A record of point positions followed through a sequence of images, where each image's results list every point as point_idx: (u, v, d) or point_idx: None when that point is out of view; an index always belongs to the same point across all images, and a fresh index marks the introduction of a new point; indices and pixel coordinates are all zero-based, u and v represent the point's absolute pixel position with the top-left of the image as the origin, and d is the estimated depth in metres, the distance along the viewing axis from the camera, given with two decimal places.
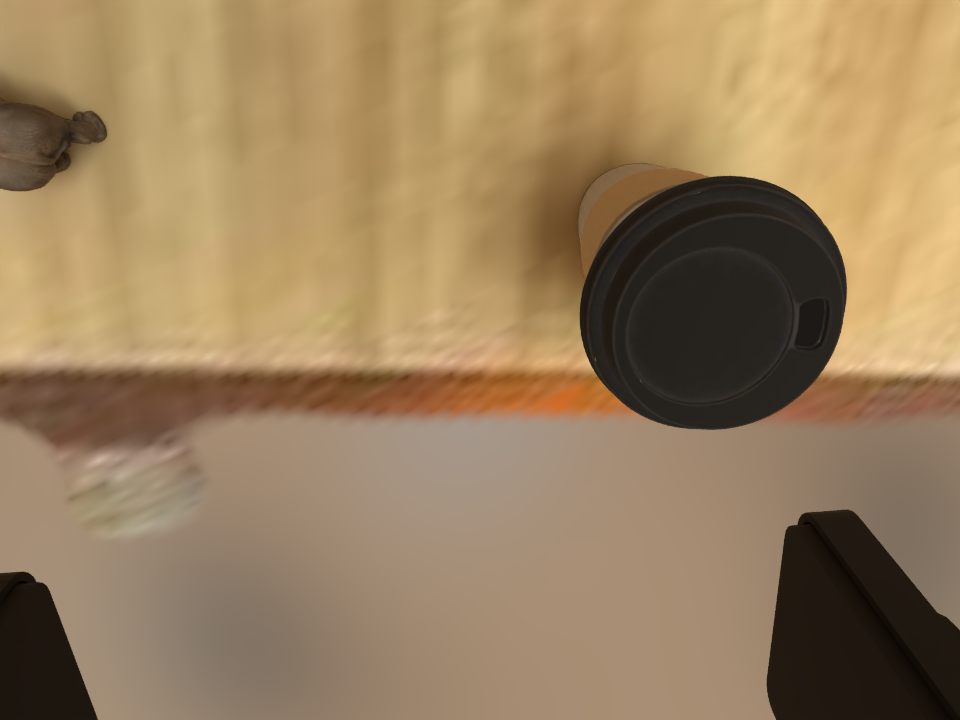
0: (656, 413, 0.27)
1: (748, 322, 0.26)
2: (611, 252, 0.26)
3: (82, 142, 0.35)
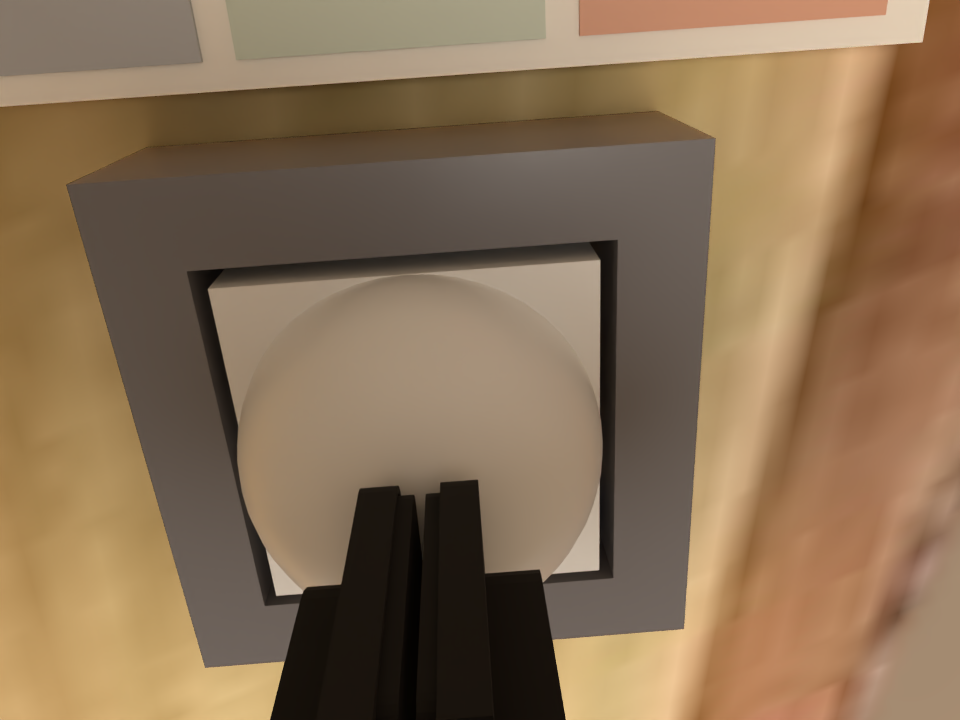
0: None
1: None
2: None
3: None
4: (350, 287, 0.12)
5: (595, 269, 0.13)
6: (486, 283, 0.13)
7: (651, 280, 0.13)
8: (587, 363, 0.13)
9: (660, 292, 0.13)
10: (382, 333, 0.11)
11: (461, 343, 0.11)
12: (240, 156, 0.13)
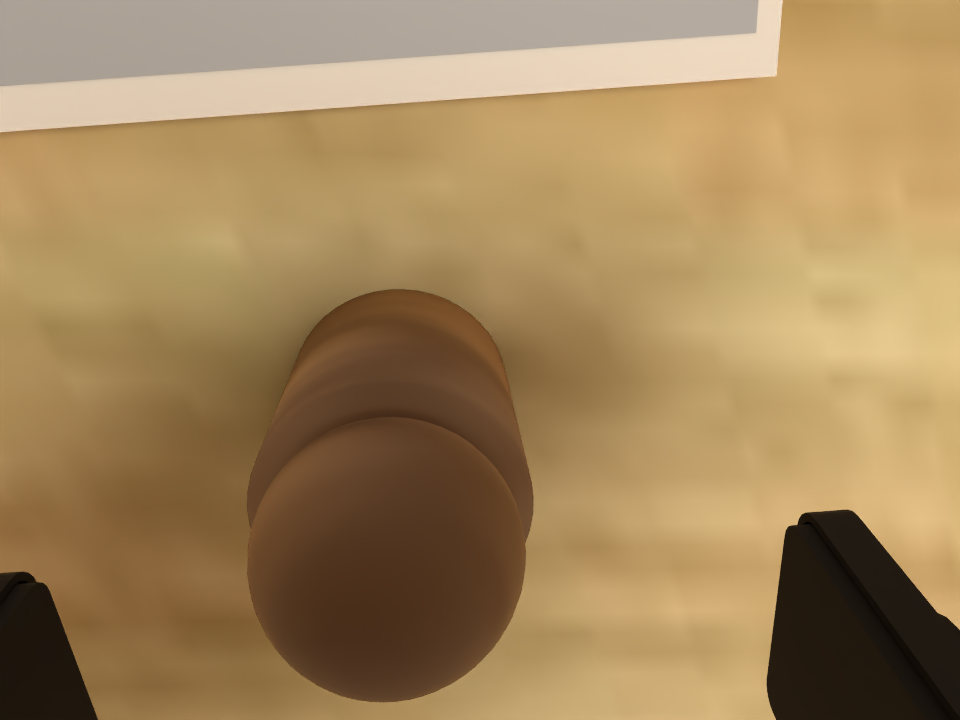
0: None
1: None
2: None
3: None
4: None
5: None
6: None
7: None
8: None
9: None
10: None
11: None
12: None
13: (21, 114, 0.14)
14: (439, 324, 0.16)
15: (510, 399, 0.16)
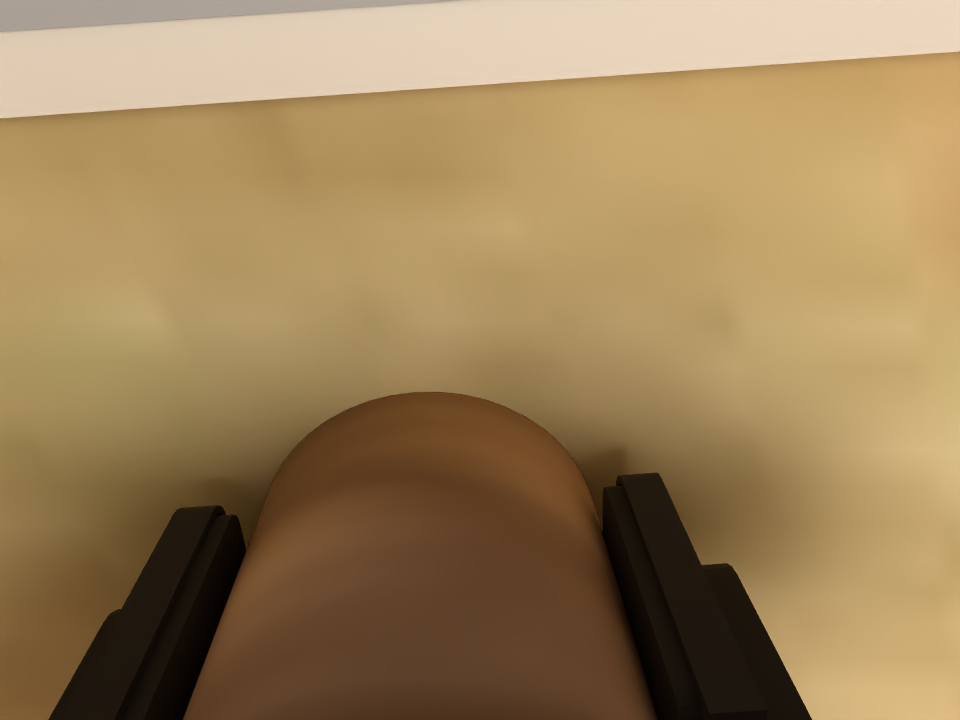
0: None
1: None
2: None
3: None
4: None
5: None
6: None
7: None
8: None
9: None
10: None
11: None
12: None
13: None
14: (502, 474, 0.09)
15: (623, 605, 0.09)
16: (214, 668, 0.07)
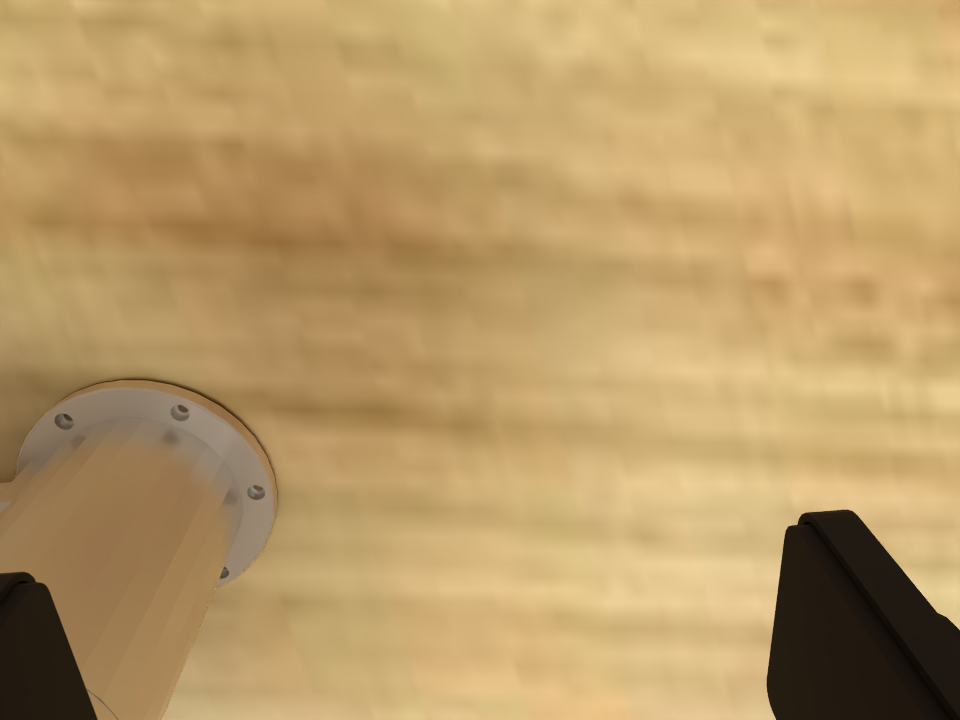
0: None
1: None
2: None
3: None
4: None
5: None
6: None
7: None
8: None
9: None
10: None
11: None
12: None
13: None
14: None
15: None
16: None
